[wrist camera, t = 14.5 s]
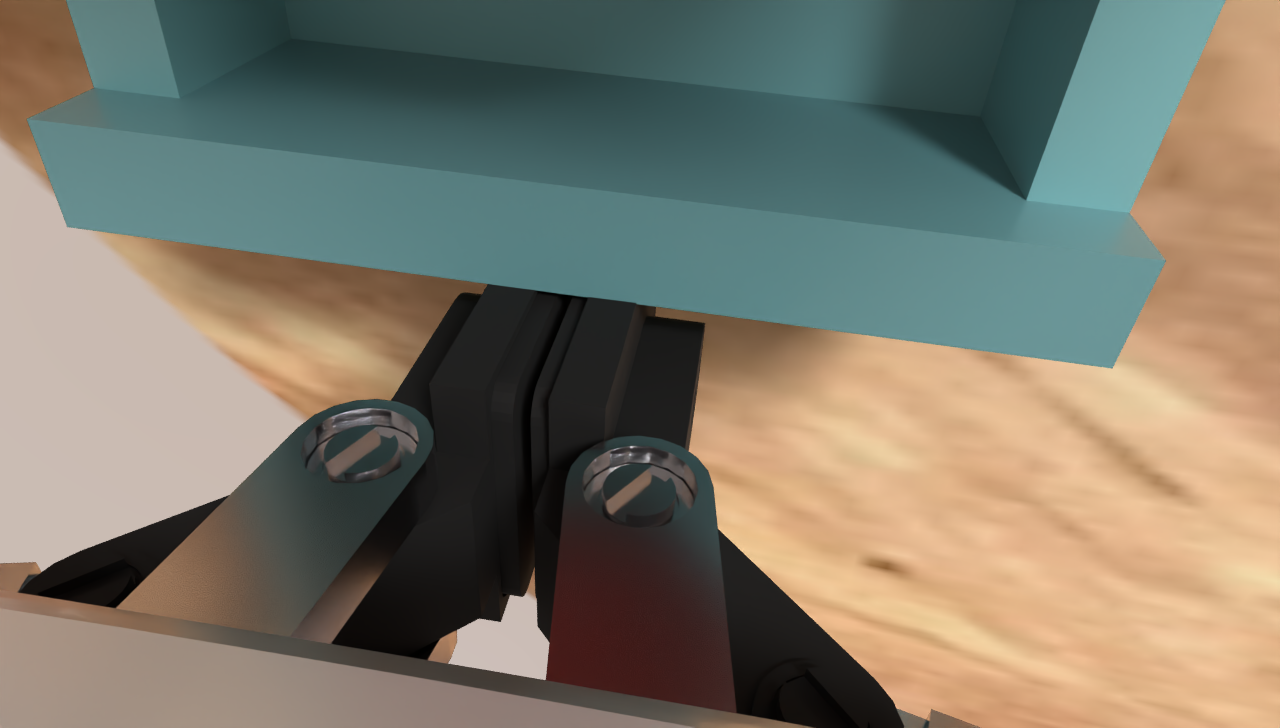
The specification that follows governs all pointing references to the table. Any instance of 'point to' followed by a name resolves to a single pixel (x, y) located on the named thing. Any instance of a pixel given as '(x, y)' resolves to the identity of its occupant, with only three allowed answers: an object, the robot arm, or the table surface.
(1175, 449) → the table surface
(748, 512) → the table surface
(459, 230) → the shelf tray
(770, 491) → the table surface
